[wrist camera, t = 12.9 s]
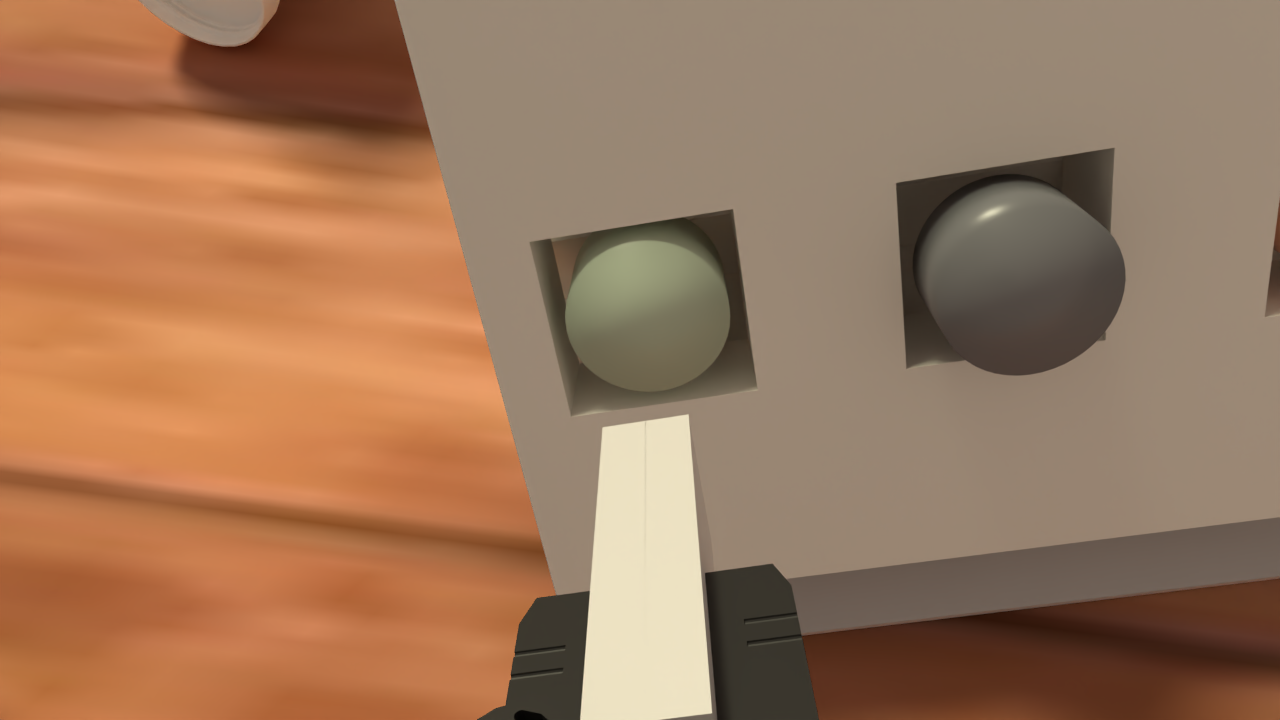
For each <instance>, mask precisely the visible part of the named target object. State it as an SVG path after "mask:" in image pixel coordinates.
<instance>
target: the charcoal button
mask: <svg viewBox="0 0 1280 720" xmlns="http://www.w3.org/2000/svg"><path fill="white" fill-rule="evenodd" d="M913 276H914V281H915V284H916V288H917V290H918V292H919V294H920V296H921V298H922V300H923V301H924V303H925V305H926V306H927V308H928V309H929V311H930V313H931V314H932V316H933V318H934V319H935V321H936V323H937V324H938V326H939V327H940V329H941V331H942V332H943V334H944V336H945V337H946V339H947V340H948V342H949V343H950V345H951V346H952V348H953V349H954V350H955V351H956V352H957V353H958V354H959V355H960V356H961V357H962V358H963V359H965V360H966V361H967V362H969V363H971V364H972V365H974V366H976V367H978V368H980V369H983V370H985V371H988V372H992V373H995V374H1002V375H1013V376H1021V375H1031V374H1036V373H1041V372H1045V371H1048V370H1051V369H1054V368H1057V367H1059V366H1061V365H1064V364H1066V363H1068V362H1069V361H1071V360H1073V359H1075V358H1076V357H1078V356H1079V355H1081V354H1082V353H1084V352H1085V351H1086V350H1087V349H1089V348H1090V347H1091V346H1092V345H1093V344H1094V343H1095V342H1096V341H1097V340H1098V339H1099V338H1100V337H1101V336H1102V335H1103V334H1104V332H1105V331H1106V330H1107V328H1108V327H1109V326H1110V324H1111V323H1112V321H1113V319H1114V317H1115V316H1116V314H1117V312H1118V309H1119V307H1120V304H1121V302H1122V298H1123V294H1124V289H1125V281H1126V275H1125V264H1124V259H1123V256H1122V253H1121V250H1120V248H1119V246H1118V244H1117V242H1116V240H1115V239H1114V237H1113V236H1112V235H1111V234H1110V232H1109V231H1108V230H1107V229H1106V228H1105V227H1104V226H1103V225H1102V224H1101V223H1099V222H1098V221H1097V220H1096V219H1094V218H1093V217H1092V216H1091V215H1089V214H1088V213H1087V212H1086V211H1084V210H1083V209H1082V208H1081V207H1079V206H1078V205H1077V204H1076V203H1074V202H1073V201H1072V200H1071V199H1069V198H1068V197H1067V196H1066V195H1065V194H1063V193H1062V192H1061V191H1060V190H1058V189H1057V188H1055V187H1054V186H1052V185H1051V184H1049V183H1047V182H1045V181H1043V180H1041V179H1038V178H1035V177H1031V176H1027V175H1020V174H1002V175H994V176H990V177H985V178H982V179H979V180H976V181H973V182H971V183H969V184H967V185H965V186H963V187H961V188H960V189H958V190H957V191H955V192H953V193H952V194H951V195H950V196H948V197H947V198H946V199H945V200H943V201H942V202H941V203H940V204H939V205H938V206H937V207H936V208H935V209H934V211H933V212H932V213H931V215H930V216H929V217H928V219H927V220H926V222H925V223H924V225H923V227H922V229H921V231H920V233H919V235H918V238H917V241H916V244H915V248H914V253H913Z"/></svg>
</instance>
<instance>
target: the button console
mask: <svg viewBox="0 0 1280 720" xmlns="http://www.w3.org/2000/svg"><path fill="white" fill-rule="evenodd" d="M394 1H395V4H396V8H397V12H398V15H399V19H400V23H401V26H402V30H403V34H404V37H405V41H406V45H407V48H408V52H409V56H410V59H411V63H412V67H413V70H414V74H415V78H416V81H417V85H418V89H419V92H420V96H421V100H422V103H423V107H424V111H425V115H426V118H427V122H428V126H429V129H430V133H431V137H432V140H433V144H434V148H435V151H436V155H437V159H438V162H439V166H440V170H441V173H442V177H443V181H444V184H445V188H446V192H447V195H448V199H449V203H450V206H451V210H452V214H453V217H454V221H455V225H456V228H457V232H458V236H459V239H460V243H461V247H462V250H463V254H464V258H465V262H466V265H467V269H468V273H469V276H470V280H471V284H472V287H473V291H474V295H475V298H476V302H477V306H478V309H479V313H480V317H481V320H482V324H483V328H484V331H485V335H486V339H487V342H488V346H489V350H490V353H491V357H492V361H493V364H494V368H495V372H496V375H497V379H498V383H499V386H500V390H501V394H502V397H503V401H504V405H505V409H506V412H507V416H508V420H509V423H510V427H511V431H512V434H513V438H514V442H515V445H516V449H517V453H518V456H519V460H520V464H521V467H522V471H523V475H524V478H525V482H526V486H527V489H528V493H529V497H530V500H531V504H532V508H533V511H534V515H535V519H536V522H537V526H538V530H539V533H540V537H541V541H542V544H543V548H544V552H545V556H546V559H547V563H548V567H549V570H550V574H551V578H552V581H553V585H554V589H555V592H556V595H563V594H570V593H578V592H585V591H590V585H591V572H592V559H593V546H594V533H595V520H596V507H597V494H598V481H599V468H600V455H601V442H602V429H603V427H608V426H615V425H622V424H628V423H635V422H641V421H648V420H655V419H661V418H668V417H675V416H681V415H688V414H689V420H690V425H691V431H692V436H693V442H694V447H695V453H696V459H697V464H698V470H699V475H700V481H701V486H702V492H703V498H704V503H705V509H706V514H707V520H708V525H709V531H710V537H711V543H712V553H713V563H714V571H722V570H729V569H736V568H744V567H751V566H758V565H765V564H773V565H774V566H775V567H776V568H777V569H778V570H779V572H780V573H781V574H782V575H783V576H784V577H785V578H786V579H787V581H788V582H789V583H790V584H791V585H792V590H793V595H794V600H795V605H796V610H797V616H798V620H799V625H800V629H801V635H802V636H804V635H812V634H820V633H829V632H837V631H846V630H854V629H862V628H871V627H879V626H887V625H896V624H904V623H912V622H921V621H929V620H938V619H946V618H954V617H963V616H971V615H979V614H988V613H996V612H1004V611H1013V610H1021V609H1030V608H1038V607H1046V606H1055V605H1063V604H1071V603H1080V602H1088V601H1096V600H1105V599H1113V598H1122V597H1130V596H1138V595H1147V594H1155V593H1163V592H1172V591H1180V590H1188V589H1197V588H1205V587H1213V586H1222V585H1230V584H1239V583H1247V582H1255V581H1264V580H1272V579H1280V253H1279V252H1277V251H1275V250H1274V249H1273V247H1274V239H1275V231H1276V223H1277V215H1278V207H1279V199H1280V0H394ZM1002 174H1020V175H1027V176H1031V177H1035V178H1038V179H1041V180H1043V181H1045V182H1047V183H1049V184H1051V185H1052V186H1054V187H1055V188H1057V189H1058V190H1060V191H1061V192H1062V193H1063V194H1065V195H1066V196H1067V197H1068V198H1069V199H1071V200H1072V201H1073V202H1074V203H1076V204H1077V205H1078V206H1079V207H1081V208H1082V209H1083V210H1084V211H1086V212H1087V213H1088V214H1089V215H1091V216H1092V217H1093V218H1094V219H1096V220H1097V221H1098V222H1099V223H1101V224H1102V225H1103V226H1104V227H1105V228H1106V229H1107V230H1108V231H1109V232H1110V234H1111V235H1112V236H1113V237H1114V239H1115V240H1116V242H1117V244H1118V246H1119V248H1120V250H1121V253H1122V256H1123V259H1124V264H1125V275H1126V281H1125V289H1124V294H1123V298H1122V302H1121V304H1120V307H1119V309H1118V312H1117V314H1116V316H1115V317H1114V319H1113V321H1112V323H1111V324H1110V326H1109V327H1108V328H1107V330H1106V331H1105V332H1104V334H1103V335H1102V336H1101V337H1100V338H1099V339H1098V340H1097V341H1096V342H1095V343H1094V344H1093V345H1092V346H1091V347H1090V348H1089V349H1087V350H1086V351H1085V352H1084V353H1082V354H1081V355H1079V356H1078V357H1076V358H1075V359H1073V360H1071V361H1069V362H1068V363H1066V364H1064V365H1061V366H1059V367H1057V368H1054V369H1051V370H1048V371H1045V372H1041V373H1036V374H1031V375H1021V376H1013V375H1002V374H995V373H992V372H988V371H985V370H983V369H980V368H978V367H976V366H974V365H972V364H971V363H969V362H967V361H966V360H965V359H963V358H962V357H961V356H960V355H959V354H958V353H957V352H956V351H955V350H954V349H953V348H952V346H951V345H950V343H949V342H948V340H947V339H946V337H945V336H944V334H943V332H942V331H941V329H940V327H939V326H938V324H937V323H936V321H935V319H934V318H933V316H932V314H931V313H930V311H929V309H928V308H927V306H926V305H925V303H924V301H923V300H922V298H921V296H920V294H919V292H918V290H917V288H916V284H915V281H914V276H913V253H914V248H915V244H916V241H917V238H918V235H919V233H920V231H921V229H922V227H923V225H924V223H925V222H926V220H927V219H928V217H929V216H930V215H931V213H932V212H933V211H934V209H935V208H936V207H937V206H938V205H939V204H940V203H941V202H942V201H943V200H945V199H946V198H947V197H948V196H950V195H951V194H952V193H953V192H955V191H957V190H958V189H960V188H961V187H963V186H965V185H967V184H969V183H971V182H973V181H976V180H979V179H982V178H985V177H990V176H994V175H1002ZM681 217H684V218H686V219H688V220H690V221H691V222H693V223H694V224H696V225H697V226H698V227H699V228H701V229H702V230H703V231H704V232H705V233H706V234H707V235H708V237H709V238H710V239H711V241H712V242H713V243H714V245H715V247H716V249H717V251H718V253H719V255H720V258H721V261H722V265H723V270H724V276H725V282H726V288H727V294H728V300H729V306H730V327H729V332H728V336H727V339H726V342H725V344H724V347H723V348H722V350H721V352H720V354H719V355H718V357H717V358H716V360H715V361H714V362H713V363H712V364H711V365H710V367H709V368H708V369H707V370H705V371H704V372H703V373H702V374H701V375H699V376H698V377H696V378H695V379H693V380H691V381H690V382H688V383H685V384H683V385H681V386H678V387H675V388H672V389H668V390H663V391H654V392H640V391H633V390H628V389H624V388H620V387H618V386H615V385H613V384H610V383H608V382H607V381H605V380H603V379H601V378H600V377H598V376H597V375H595V374H594V373H593V372H592V371H591V370H589V369H588V368H587V367H586V366H585V365H584V363H583V362H582V361H581V360H580V359H579V357H578V356H577V354H576V353H575V351H574V349H573V347H572V345H571V343H570V340H569V337H568V334H567V329H566V323H565V310H566V303H567V298H568V293H569V288H570V284H571V279H572V274H573V269H574V265H575V261H576V258H577V255H578V253H579V251H580V248H581V247H582V245H583V243H584V242H585V240H586V239H587V238H588V237H589V235H590V234H591V233H592V232H594V231H600V230H606V229H613V228H619V227H625V226H631V225H637V224H644V223H650V222H656V221H662V220H669V219H675V218H681Z"/></svg>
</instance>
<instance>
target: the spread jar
mask: <svg viewBox="0 0 1280 720" xmlns="http://www.w3.org/2000/svg"><path fill="white" fill-rule="evenodd" d="M139 1H140V2H141V3H142V4H143V5H144V6H145V7H146V8H147V9H148V10H149V11H150V12H151V13H153V14H154V15H155V16H157V17H158V18H159V19H160V20H162V21H163V22H164V23H166V24H167V25H169V26H171V27H172V28H174V29H175V30H177V31H179V32H180V33H182V34H184V35H187V36H189V37H191V38H193V39H195V40H198V41H201V42H204V43H207V44H210V45H216V46H222V47H232V46H239V45H243V44H246V43H248V42H249V41H251V40H252V39H254V38H255V37H256V36H257V35H258V34H259V33H260V31H261V30H262V29H263V28H264V27H265V25H266V24H267V23H268V22H269V21H270V20H271V18H272V17H273V15H274V14H275V13H276V11H277V8H278V5H279V2H280V0H139Z"/></svg>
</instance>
